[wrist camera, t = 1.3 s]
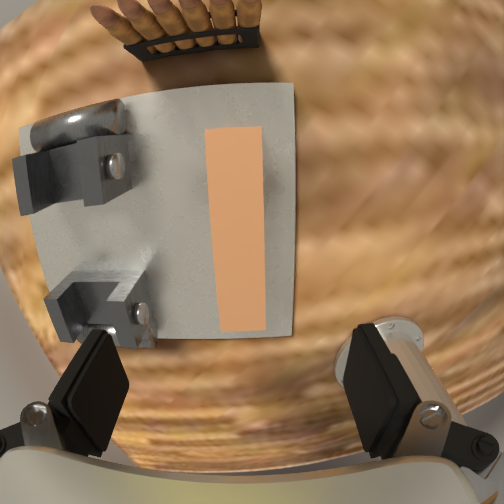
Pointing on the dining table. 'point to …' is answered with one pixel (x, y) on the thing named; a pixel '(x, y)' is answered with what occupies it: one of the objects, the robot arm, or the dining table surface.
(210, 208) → the bar
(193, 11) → the ammunition clip
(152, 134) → the plate with roller
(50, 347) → the dining table surface
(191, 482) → the robot arm
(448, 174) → the dining table surface
